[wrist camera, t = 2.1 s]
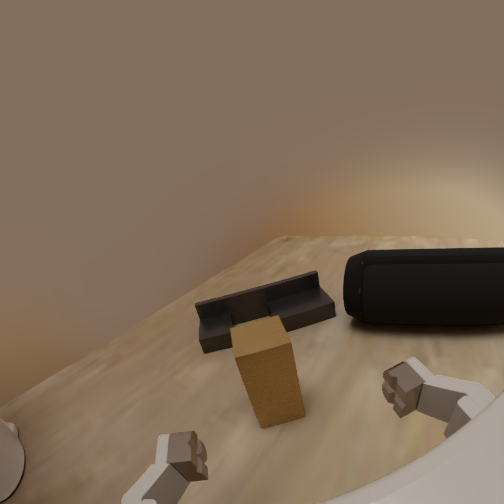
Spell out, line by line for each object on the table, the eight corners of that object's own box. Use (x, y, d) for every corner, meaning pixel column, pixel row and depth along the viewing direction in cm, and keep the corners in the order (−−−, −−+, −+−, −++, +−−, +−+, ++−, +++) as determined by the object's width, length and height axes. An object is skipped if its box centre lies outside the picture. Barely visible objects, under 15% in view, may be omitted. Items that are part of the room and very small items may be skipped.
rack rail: (335, 316, 39) (332, 286, 37) (204, 353, 37) (193, 325, 36) (319, 297, 46) (315, 270, 44) (204, 328, 44) (195, 303, 43)
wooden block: (261, 429, 23) (234, 357, 20) (254, 399, 27) (230, 328, 24) (305, 416, 23) (291, 342, 20) (293, 388, 27) (278, 315, 25)
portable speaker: (504, 299, 27) (513, 236, 24) (518, 338, 20) (536, 266, 17) (360, 298, 42) (355, 240, 39) (343, 336, 34) (337, 268, 31)
